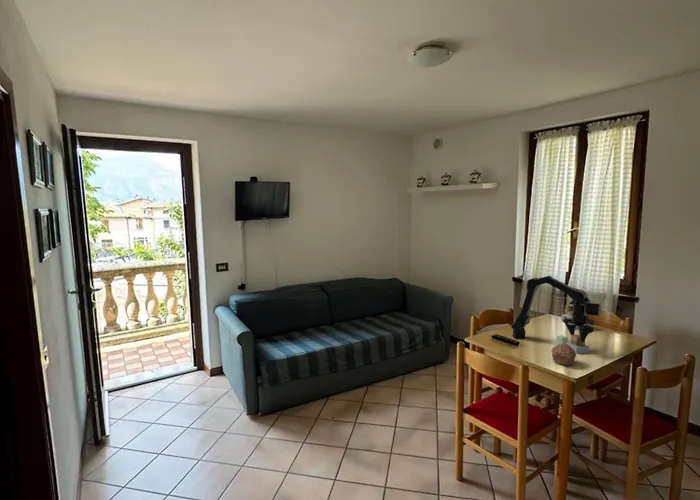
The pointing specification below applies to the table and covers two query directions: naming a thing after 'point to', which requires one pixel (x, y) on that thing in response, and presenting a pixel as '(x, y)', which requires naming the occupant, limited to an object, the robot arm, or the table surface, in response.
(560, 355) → the decorative rock
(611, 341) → the table surface
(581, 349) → the base block
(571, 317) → the coffee mug
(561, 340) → the sage block
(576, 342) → the walnut cube
